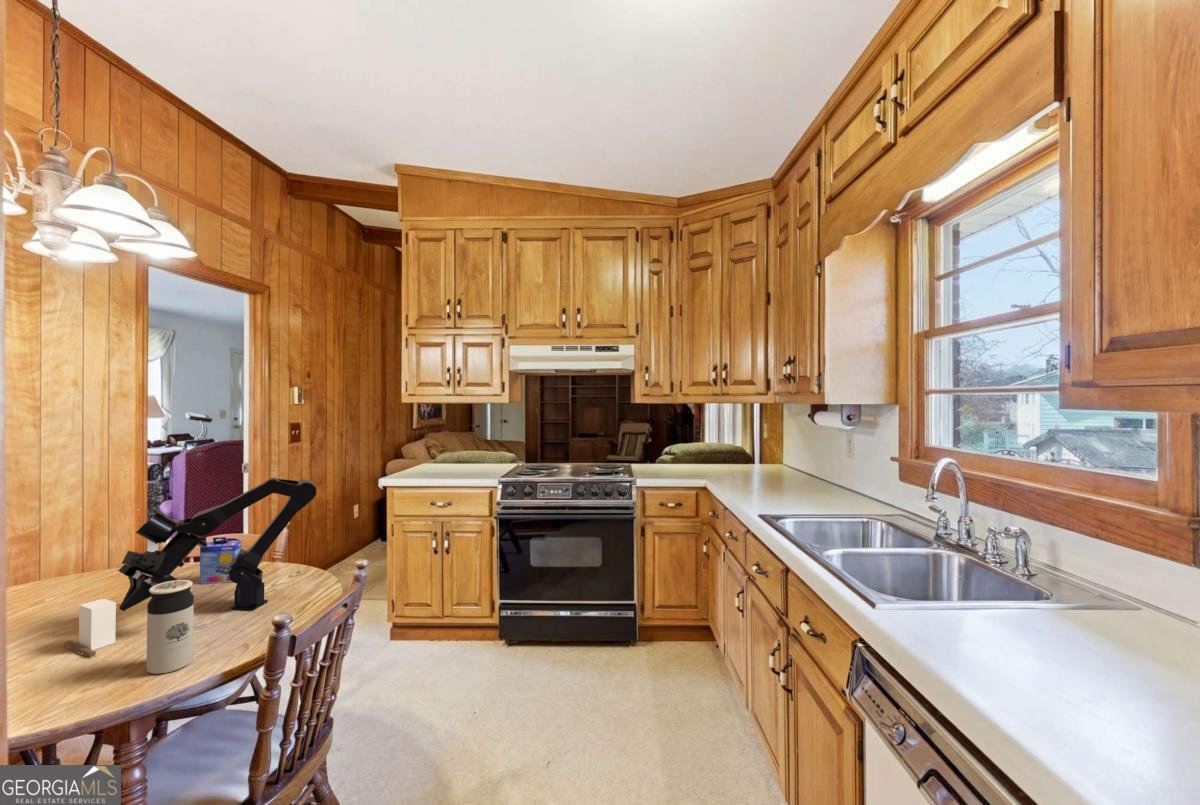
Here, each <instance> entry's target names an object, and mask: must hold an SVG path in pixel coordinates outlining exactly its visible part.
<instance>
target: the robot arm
mask: <svg viewBox="0 0 1200 805" xmlns="http://www.w3.org/2000/svg"><path fill="white" fill-rule="evenodd" d="M272 494H277V495H281V496H284V497H285V496H286V497H287V499H286V502H285V504H284V505H283V507H282V508H281V509H280V510H279V511H278V513H277V514H275V516H274V518H273V519H272V520H271V521H270V523H269V524H268V525H267V527H266V528H265V529H264V530H263V532H262V533H261V534H260V535H259V536H258V538H257V539H256V541H254V543H253V544H252V545H251V546H250V547H249V548H247V549H246V550H245V549H243V548H241V550H240V551H239V553H238V555H237V556H236V557H235V558H234V559H232V560H231V564H230V572H229V578H230V580H231V581H232V582H231V583H234V584H235V590H234V596H233V597H234V602H233V604H234V605H233V606H231V607H230V609H231V610H237V611H238V610H240V611H254V610H255V609H257V608H259V607H261V606H263V605H265V604H266V603H268V601H269V599H265V582H263V576H264V575H263V574H264V571H263V570H262V569H260V568H259V566H260V562H261V561H262V559H263V557H264V555H265V553H266V552H267V551H268V550H269V549H270V547H271V546H272V545H273V543H274V542H275V541H276V540H277V538H279V536H280V534H281V533H282V532H283V531H284V529H286V527H287V526H288V524H289V523H290V522H291V521H292V519H293V518H294V517H295V515H296V514H297V513H298V512H300V511H301V510H302V509H303V508H305V507H306V506H307V505H308V504H310V503H311V502H312V501H313V500H314V499H315V497H316V496H317V487H316V485H315V483H314V482H313V481H312V480H310V479H301V480H294V479H284V478H282V479H281V478H278V477H270V478H267V479H266V480H265V481H264V482H262V483H260V484H258V485H256V486H254V487H252V488H251V489H249V490H247V491H245V492H243V493H241V494H240V495H238V496H236V497H234V498H232V499H230V500H228V501H226V502H224V503H222V504H219V505H218V504H217V505H215V506H212V507H209V508H206V509H204V510H201V511H199V512H197V513H195V514H194V515H193V516H191V517H187V518H184V519H181V520H178V521H177V520H174V519H172V518H171V517H170V516H167V514H165V513H164V512H162V511H159V510H158V511H157V512H156V513H155V514H154V515H153V516H152V517H151V518H149V519H148V520H146V522H145V523H144V524H143V525H142V526H141V527H140V528H139V529H138V530H137V531H136V532H135V533H136V534H137V535H139V536H141V537H143V538H145V539H146V540H148V541H150V542H152V543H153V544H156V545H157V544H161V543H163V544H165V543H166V542H167V541H168V540H169V539H170V540H169V541H168V543H167V544H165V545H164V546H163V548H161V549H160V550H157V549H156V550H154V551H149V550H146V551H145V552H138V551H134V550H133V551H132V550H128V551H127V552H126V554H125V556H124V558H123V560H122V562H121V564H123V565H122V566H121V567H120V568H119V569H118V571H117V572H119V573H121V574H122V575H124V576H126V577H128V578H127V579H128V580H129V588H128V590H127V591H126V594H125V596H124V598H123V599H122V602H121V604H120V605H119V607H118V609H119V610H120V611H123V612H124V611H125V612H126V610H128V609H131V608H132V607H134V606H136V605H138V604H139V603H142V602H143V601H146V600H147V599H150V598H152V597H151V593H150V592H149V589H150V588H151V587H153V586H155V585H157V584H160V583H164V582H168V581H174V580H179V579H178V578H176V577H175V576H172V575H171V574H172V573H173V572H174V571H175V570H177V568H178V567H179V568H182V567H184V565H185V563H184V562H183V561H185V559H186V558H187V557H188V556H189V555H190V554H191V553H192V552H193V550H194V549H195V548H196V547H197V546H199V548H200V547H202V548H204V547H206V546H207V543H206V542H207V536H208V535H209V534H211V533H212V532H213V531H215V530H216V529H217V528H219V527H220V526H221V525H223V523H225V522H226V521H227V520H229V519H230V518H231V517H232V516H234V515H236V514H237V513H239V512H241V511H243V510H245V509H248V508H249V507H251V506H252V505H253V504H256V503H258V502H260V501H261V500H264V499H265V498H267V497H269V496H270V495H272ZM174 534H175V535H174ZM172 535H173V537H172ZM206 535H207V536H206ZM171 537H172V538H171Z"/></svg>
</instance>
